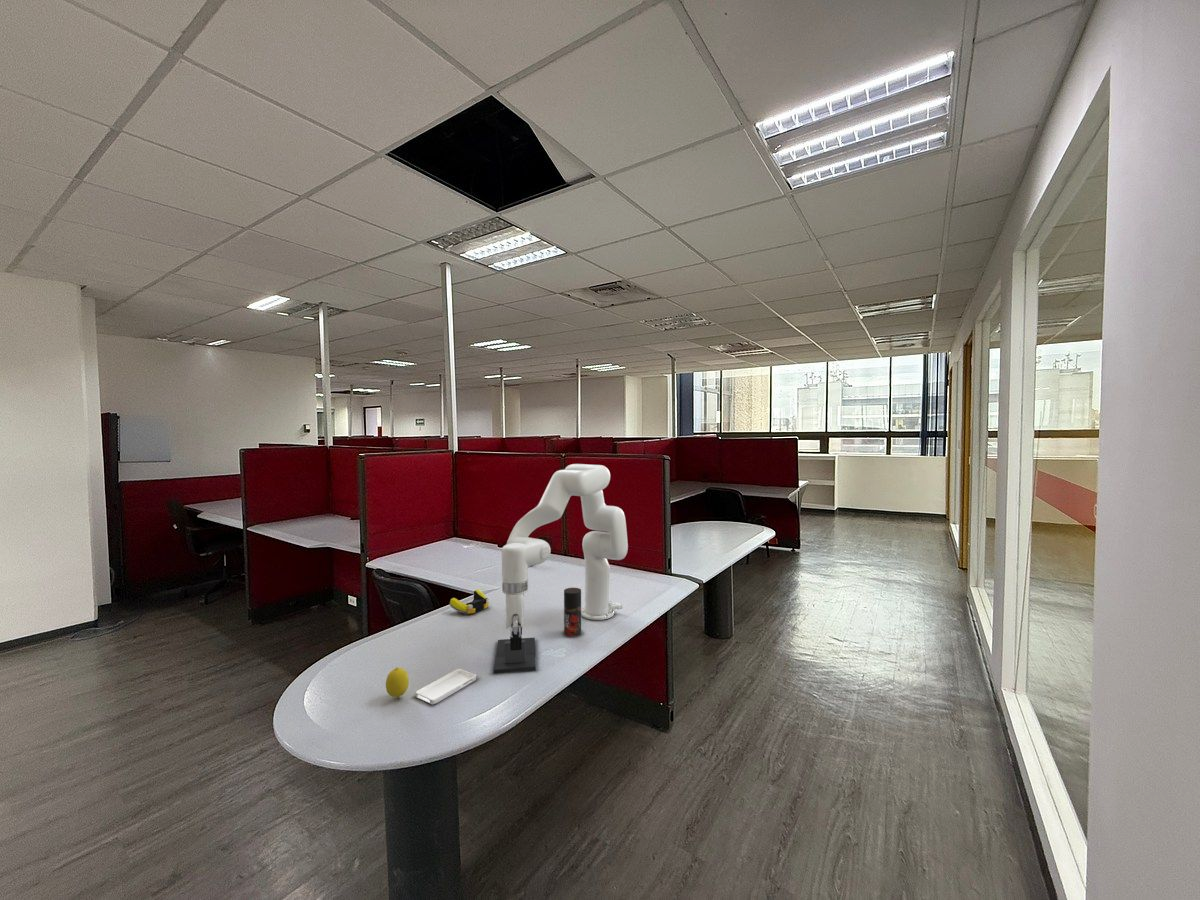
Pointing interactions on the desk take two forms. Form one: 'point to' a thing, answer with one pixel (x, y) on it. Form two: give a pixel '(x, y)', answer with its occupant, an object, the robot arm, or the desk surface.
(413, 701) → the desk surface
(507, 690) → the desk surface
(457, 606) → the gaming controller
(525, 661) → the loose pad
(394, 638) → the desk surface
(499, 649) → the base pad
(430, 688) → the phone case
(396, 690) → the lemon
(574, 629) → the deodorant
